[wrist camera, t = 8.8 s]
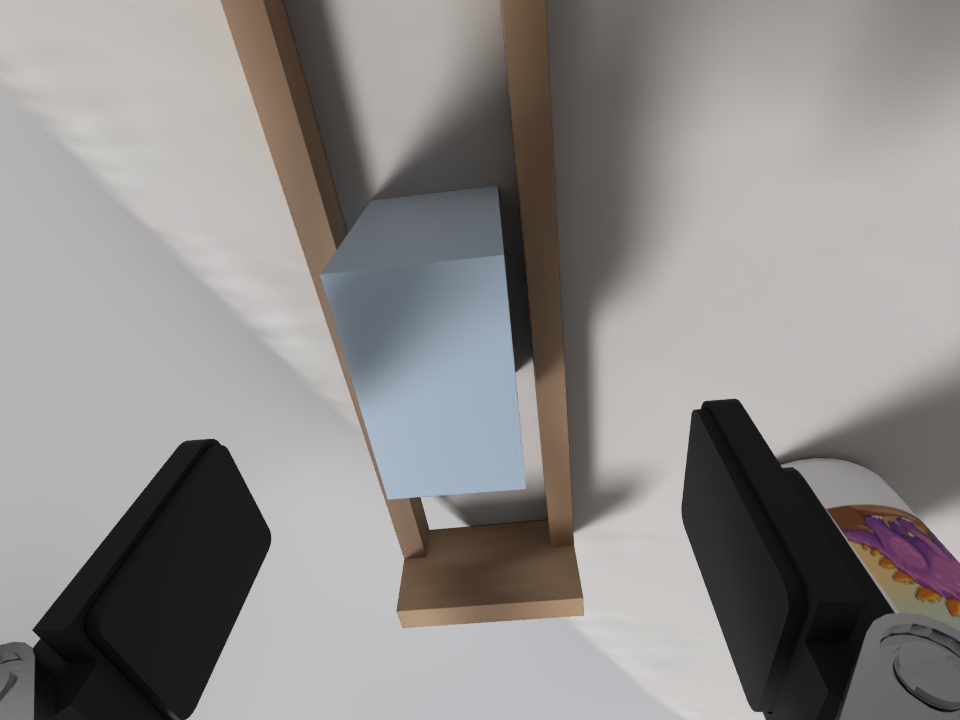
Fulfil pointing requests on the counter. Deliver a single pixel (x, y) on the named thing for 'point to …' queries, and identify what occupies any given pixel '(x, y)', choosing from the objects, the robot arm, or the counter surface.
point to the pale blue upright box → (431, 342)
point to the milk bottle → (887, 539)
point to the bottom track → (550, 543)
